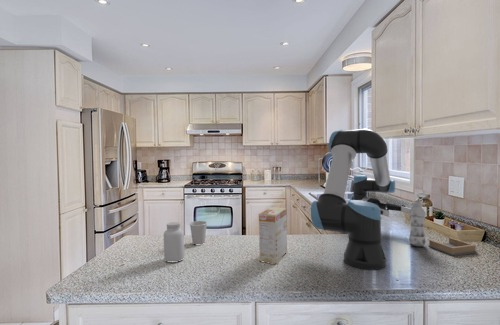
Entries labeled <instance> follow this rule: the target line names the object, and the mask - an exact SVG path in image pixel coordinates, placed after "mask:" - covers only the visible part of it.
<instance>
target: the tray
mask: <svg viewBox="0 0 500 325" xmlns="http://www.w3.org/2000/svg"><path fill="white" fill-rule="evenodd" d="M428 242H429V243H428V247H429V248H432V249H435V250H436V251H440V252H442V253H445V254H448V255H451V256H454V257H457V256H464V255H470V254H471V253H472V254H477V253H478V251H476V249H477V246H476V244H472V243H470V242H467V241H463V240H460V239H457V238H453V237H448V242H445V243H441V242H438V241H436V240H433V239H429V241H428Z"/></svg>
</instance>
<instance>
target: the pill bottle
mask: <svg viewBox="0 0 500 325" xmlns="http://www.w3.org/2000/svg"><path fill="white" fill-rule="evenodd" d="M184 237H185V234H184V230H183V229H181V222H178V221H175V222H174V221H172V222H168V223H167V224H166V230H165V231H164V232H163V254H164V261H165V260H166V261H179V260H181V259H183V258H184V259H185V238H184ZM184 259H183V260H184Z"/></svg>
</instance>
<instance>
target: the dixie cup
mask: <svg viewBox="0 0 500 325" xmlns="http://www.w3.org/2000/svg"><path fill="white" fill-rule="evenodd" d="M207 224H208V222H207V221H205V220H196V221H192V222H191V221H190V223H189V227H190V228H189V229H190V233H191V239H192V240H191V241H192V245H193V244H203V243H205V244H206V234H207ZM203 245H204V244H203Z"/></svg>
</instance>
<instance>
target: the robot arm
mask: <svg viewBox="0 0 500 325" xmlns="http://www.w3.org/2000/svg"><path fill="white" fill-rule="evenodd" d="M328 150H329V152H330V154H331V156H332V159H331V163H330V168H329V171H328V175H327V179H326V182H325V183H326V184H325V187H324V190H323V193H321V194H320V195H318V200H313V201H312V202H311V206H310V217H311V218H310V220H311V223H312V225H313V227H314V228H315V229H317V230H322V231H328V232H336V233H343V234H344V233H345V234H347V235H348V240H347V244H346V248H345V250H344V254H343V261H344V262H345V263H346V264H348V265H349V266H351V267H354V268H358V269H363V270H381V269H384V268H385V267H386V266H387V257H386V255H385V251H384V249H383V246H382V227H381V226H382V216H384V217H390V211H394V212H395V211H398V212H401V213H405V214H408V215H409V212H410V210H411V209H412V208H411V207H407V206H406V205H404V204H402V205H401V204H394V203H393V204H392V203H389V202H387V203H383V202H381V200H379V199H378V198H373V197H370V196H368V193H382V194H393V193H395V191H396V181H395V179H391V177H390V171H389V165H388V164H389V163H388V159H387V154H388V146H387V143H386V141H385V139H384V138H383V137H382V136H381V135H380V134H378V132H376V131H374V130H372V129H368V128H360V129H339V130H334V131H333V132H332V133H331V134H330V137H329V140H328ZM357 154H366V155H367V157H368V158H369V161H370V165H371V168H372V174H373V178H368V176H367V175H365V174H356V175H354V176H353V183H352V186H353V194H352V195H351V196H350V198H349V200H348V202H347V200H346V199H345V195H346V194H345V193H346V189H347V184H348V179H349V175H350V168H351V164H352V161H353V160H354V159H356V156H357Z"/></svg>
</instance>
